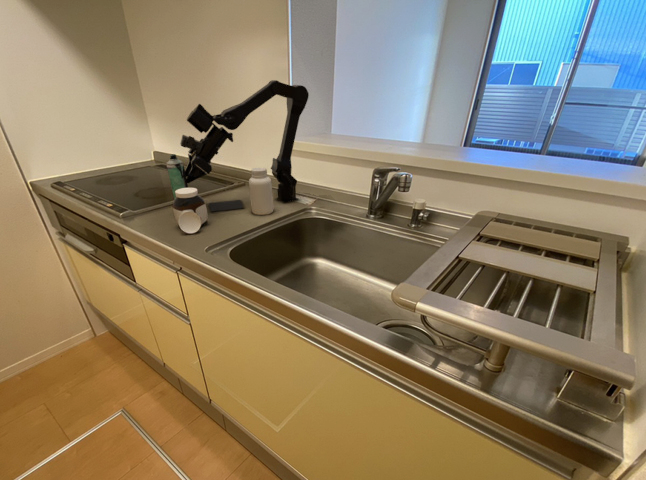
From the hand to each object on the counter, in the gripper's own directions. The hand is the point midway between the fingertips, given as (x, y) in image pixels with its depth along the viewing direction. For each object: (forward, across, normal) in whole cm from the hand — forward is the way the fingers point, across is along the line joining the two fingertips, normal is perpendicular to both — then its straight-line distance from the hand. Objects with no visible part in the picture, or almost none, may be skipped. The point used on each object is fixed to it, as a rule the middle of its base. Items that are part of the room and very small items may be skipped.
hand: (185, 179), depth 119 cm
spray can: (+10, 0, +7) cm, 12 cm away
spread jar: (+9, +16, +8) cm, 20 cm away
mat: (-1, -1, +17) cm, 17 cm away
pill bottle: (-9, +10, +26) cm, 29 cm away
